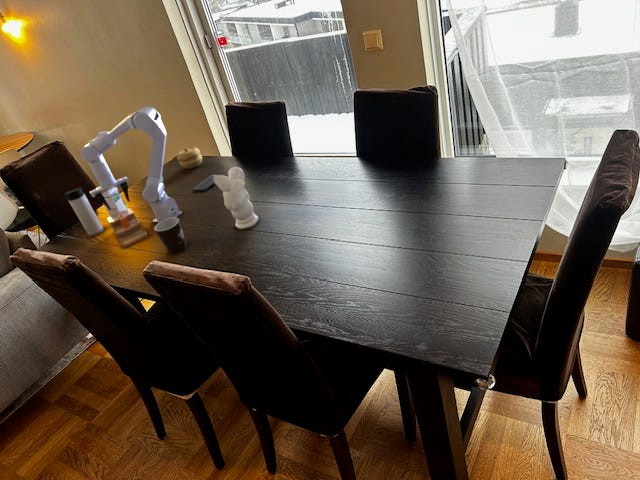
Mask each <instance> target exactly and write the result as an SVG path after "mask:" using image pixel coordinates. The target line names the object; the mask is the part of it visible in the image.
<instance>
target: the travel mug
mask: <svg viewBox="0 0 640 480" xmlns="http://www.w3.org/2000/svg"><path fill="white" fill-rule="evenodd" d="M64 195H65V198H66V199H67V201H68V203H69V204H70V206H71V208H72V209H73V212H74V213H75V215H76V217H77V218H78V220H79V221H80V223H81V225H82V226H83V228H84V230H85V232H86V234H87V235H88V236H89V237H95V236H98V235H100V234H101V233H102V232H104V229H105V228H104V226H103V225H102V222H101V221H100V219H99V217H98V216H97V214H96V212H95V211H94V209H93V207H92V205H91V203H90V201H89V200H88V198H87V196H86V194H85V193H84V191H83V189H82V188H81V187H76V188H75V189H72V190H68V191H67V192H65V193H64Z"/></svg>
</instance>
